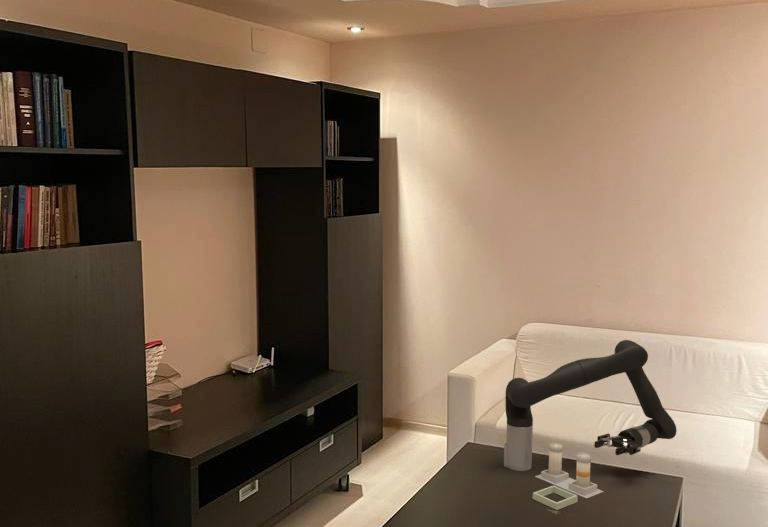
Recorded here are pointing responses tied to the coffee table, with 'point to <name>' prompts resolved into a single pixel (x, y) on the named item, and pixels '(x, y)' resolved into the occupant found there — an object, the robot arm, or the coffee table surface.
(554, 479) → the fuse board
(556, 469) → the cylinder
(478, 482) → the coffee table surface
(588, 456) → the cylinder
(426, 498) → the coffee table surface
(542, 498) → the tray
